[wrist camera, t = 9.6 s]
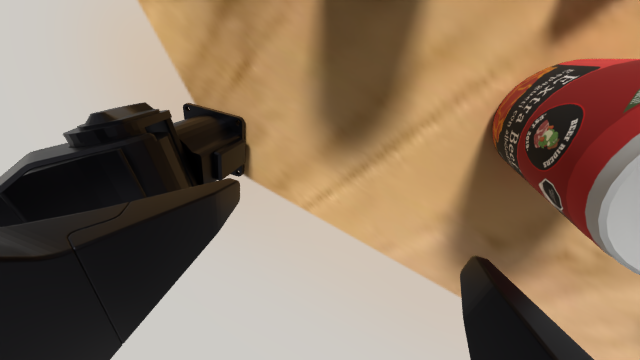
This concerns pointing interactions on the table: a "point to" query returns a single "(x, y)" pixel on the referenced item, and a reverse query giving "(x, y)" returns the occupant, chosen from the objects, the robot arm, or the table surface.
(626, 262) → the canned food
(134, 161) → the robot arm
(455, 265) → the table surface
